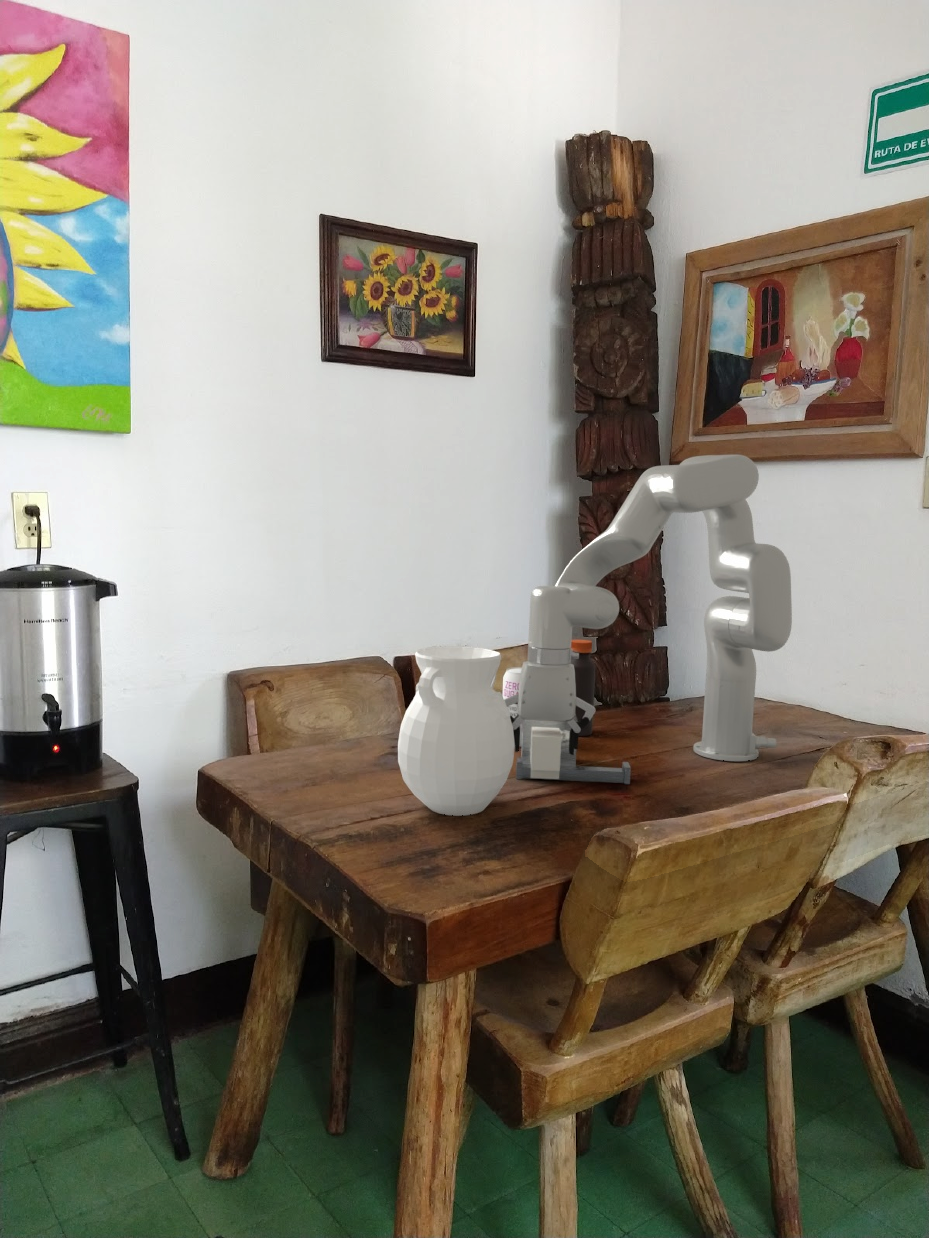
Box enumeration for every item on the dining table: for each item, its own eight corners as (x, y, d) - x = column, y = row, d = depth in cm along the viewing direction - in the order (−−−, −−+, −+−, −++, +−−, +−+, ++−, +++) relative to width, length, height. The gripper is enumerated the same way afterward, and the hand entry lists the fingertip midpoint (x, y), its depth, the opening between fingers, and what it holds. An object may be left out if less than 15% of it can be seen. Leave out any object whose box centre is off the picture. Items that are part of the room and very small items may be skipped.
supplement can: (540, 738, 192) (543, 667, 190) (540, 748, 184) (543, 675, 182) (502, 736, 193) (504, 665, 191) (499, 746, 185) (502, 672, 183)
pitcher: (448, 781, 160) (452, 639, 157) (534, 805, 149) (541, 652, 146) (371, 806, 146) (374, 650, 143) (461, 835, 135) (466, 666, 131)
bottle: (554, 730, 200) (558, 639, 197) (581, 728, 202) (586, 638, 200) (570, 737, 193) (574, 643, 191) (598, 735, 196) (602, 643, 194)
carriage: (557, 769, 168) (559, 727, 167) (559, 781, 161) (561, 737, 160) (529, 768, 168) (531, 726, 167) (530, 779, 161) (532, 736, 160)
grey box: (573, 758, 178) (575, 712, 177) (575, 769, 170) (577, 721, 169) (521, 756, 178) (523, 710, 177) (521, 766, 171) (523, 719, 170)
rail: (627, 778, 166) (628, 761, 165) (629, 784, 162) (630, 767, 162) (516, 773, 167) (516, 757, 166) (516, 778, 163) (516, 762, 163)
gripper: (596, 655, 165) (591, 748, 167) (500, 651, 166) (495, 743, 168) (600, 662, 158) (594, 759, 160) (499, 657, 159) (495, 754, 161)
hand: (544, 751), depth 164 cm, fingers open, 9 cm apart
